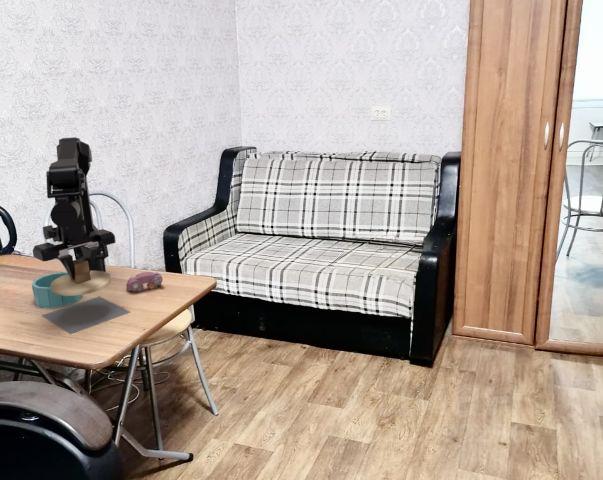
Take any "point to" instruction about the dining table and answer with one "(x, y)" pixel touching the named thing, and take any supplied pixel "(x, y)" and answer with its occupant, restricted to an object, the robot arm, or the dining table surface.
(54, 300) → the bowl
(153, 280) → the purple toy car
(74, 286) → the lid
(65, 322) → the mat
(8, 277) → the dining table surface
